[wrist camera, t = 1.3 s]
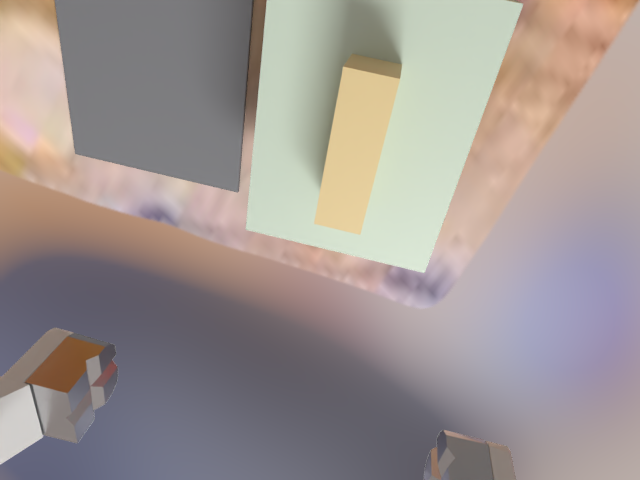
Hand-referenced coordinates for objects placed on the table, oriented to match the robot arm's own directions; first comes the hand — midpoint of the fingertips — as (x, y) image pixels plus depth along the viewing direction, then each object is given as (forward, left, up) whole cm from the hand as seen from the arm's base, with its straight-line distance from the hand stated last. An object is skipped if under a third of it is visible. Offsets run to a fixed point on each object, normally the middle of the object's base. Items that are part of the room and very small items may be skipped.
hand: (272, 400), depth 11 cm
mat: (0, -17, -27) cm, 32 cm away
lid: (0, 0, -22) cm, 22 cm away
